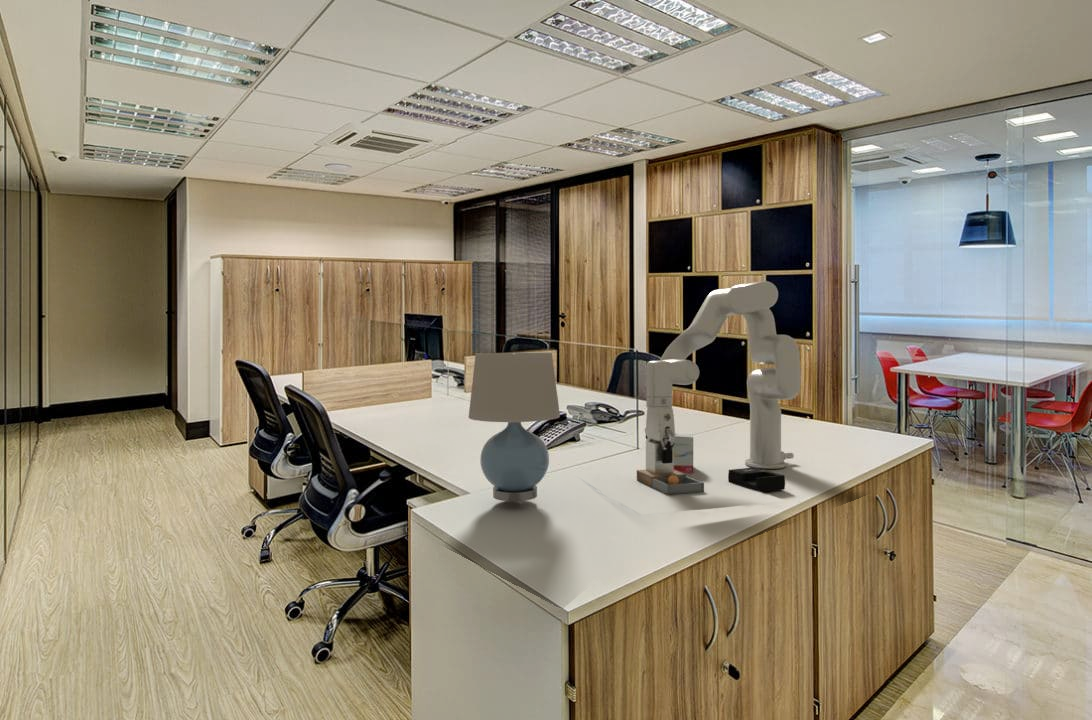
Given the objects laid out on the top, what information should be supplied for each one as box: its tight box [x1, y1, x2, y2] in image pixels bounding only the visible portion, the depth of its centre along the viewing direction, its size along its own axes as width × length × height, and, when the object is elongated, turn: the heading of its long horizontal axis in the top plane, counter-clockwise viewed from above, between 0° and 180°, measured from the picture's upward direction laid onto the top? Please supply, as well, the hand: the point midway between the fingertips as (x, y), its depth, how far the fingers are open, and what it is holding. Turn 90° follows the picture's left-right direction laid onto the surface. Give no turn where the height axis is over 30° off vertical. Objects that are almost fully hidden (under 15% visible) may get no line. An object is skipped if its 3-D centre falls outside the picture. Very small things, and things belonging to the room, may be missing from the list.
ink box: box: [673, 432, 694, 474], centre depth 197 cm, size 9×9×12 cm
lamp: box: [468, 352, 561, 502], centre depth 166 cm, size 25×25×39 cm
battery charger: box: [727, 467, 786, 493], centre depth 177 cm, size 13×10×4 cm
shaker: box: [645, 440, 674, 474], centre depth 182 cm, size 6×6×10 cm
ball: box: [668, 475, 679, 485], centre depth 174 cm, size 3×3×3 cm
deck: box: [636, 469, 687, 488], centre depth 181 cm, size 11×10×3 cm
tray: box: [650, 475, 705, 496], centre depth 172 cm, size 11×10×2 cm
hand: (659, 460), depth 182 cm, fingers open, 9 cm apart
